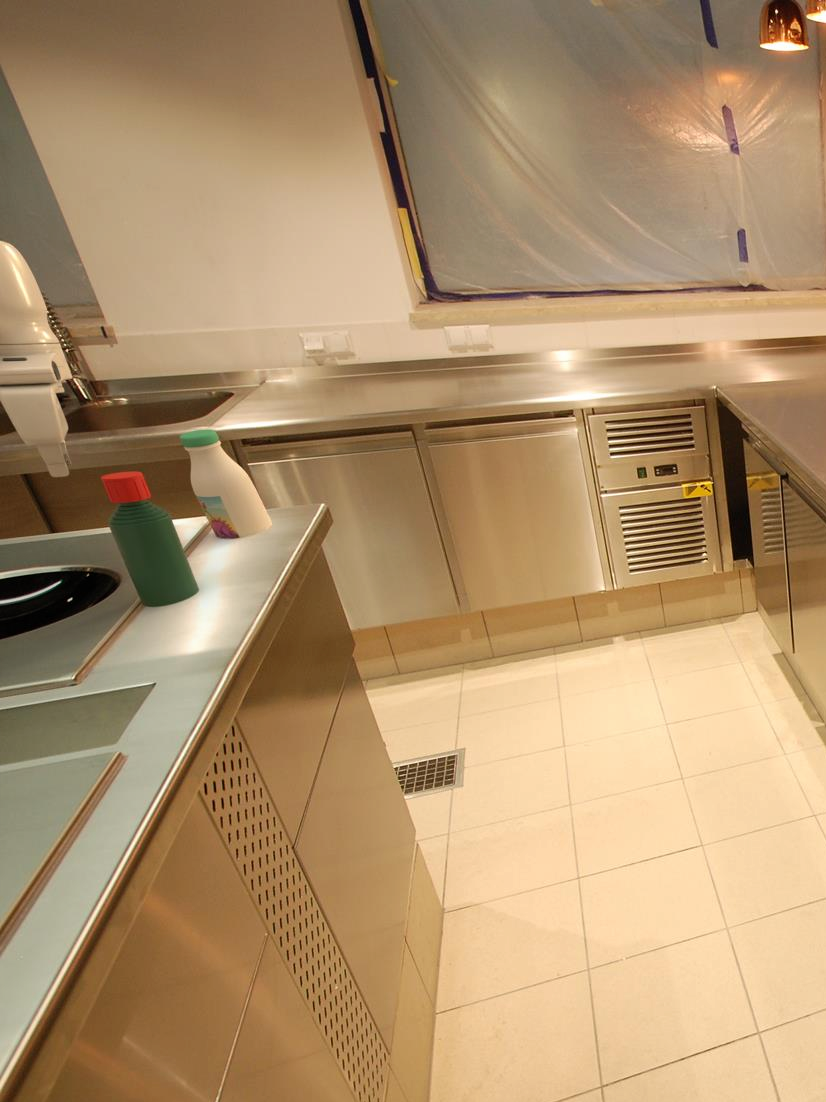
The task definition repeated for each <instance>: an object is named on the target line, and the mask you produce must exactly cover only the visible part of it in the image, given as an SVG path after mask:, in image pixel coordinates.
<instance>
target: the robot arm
mask: <svg viewBox="0 0 826 1102" xmlns="http://www.w3.org/2000/svg"><path fill="white" fill-rule="evenodd" d="M72 379H73V375H72V372H71V369H70V367H69V365H68V362H67V359H66V356H65V354H64V351H63V348H62V345H61V343H60V340H59V339H58V337H57V336H56V335H55V333H54V332H53V330H52V328H51V327H50V324H49V320H48V307H47V305H46V302H45V299H44V297H43V295H42V291H41V290H40V287H39V285H38V283H37V280H36V278H35V276H34V274H33V272H32V270H31V267H30V266H29V265H28V262H27V261H26V259H25V258H24V256H23V255H22V254H21V252H20V251H19V250H18V249H17V248H16V246H13V244H11V243H9V242H8V241H5V240H3V239H1V238H0V403H1V405H2V406H3V409H4V410H5V412H6V414H7V416H8V418H9V419H10V422H11V424H12V425H13V427H14V428H15V430H16V433H18V435H19V437H20V438H21V440H22V441H23V443H24V444H26V445H27V446H36V448H37V451H38V453H39V455H40V457H41V458H42V460H43V462H44V464H45V465H46V468H47V470H48V473H49V475H50V476H51V477H52V478H63V477H68V476H69V475H70V470H69V468H71V467H72V461H71V459H70V456H69V453H68V448H67V445H66V444H67V443H66V441H65V439H66V436H67V433H68V431H69V425H68V422H67V418H66V417H65V413H64V411H63V409H62V407H61V403H60V401H59V398H58V396H57V394H62V393H65V388H64V386H63V384H62V381H66V380H67V381H68V380H72Z"/></svg>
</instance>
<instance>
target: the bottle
mask: <svg viewBox="0 0 826 1102" xmlns="http://www.w3.org/2000/svg"><path fill="white" fill-rule="evenodd" d="M107 520H108V521H107V525H108V527H109V529H110V532H111V534H112V537H113V538H114V542H115V544H116V546H117V548H118V550H119V553H120V556H121V557H122V560H123V562H124V565H125V567H126V569H127V570H126V571H127V572H128V574H129V577H130V579H131V581H132V584H133V587H134V588H135V591H136V593H137V596H138V598H139V600H140V602H141V605H142V606H143V607H145V608H146V607H147V608H158V607H166V606H170V605H175V604H178V603H180V602H184V601H186V600H188V599H190V598H192V597H194V596H196V595H197V594H198V593H199V591H200V588H199V586H198V583H197V580H196V577H195V575H194V573H193V570H192V568H191V565H190V562H189V559H188V557H187V554H186V553H185V549H184V547H183V545H182V541H181V540H180V537H179V535H178V532H177V529H176V527H175V524H174V522H173V519H172V516H171V514H170V513H169V512H167V510H166V509H165V508H162V507H161V506H158V505H157V504H155V503H152V502H151V501H150V500H147V499H145V500H141V501H136V502H128V503H117V505H116V506H115V508H114V509H113V511H112V513H111V514H110V516H109V517H108V518H107Z"/></svg>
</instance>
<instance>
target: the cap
mask: <svg viewBox="0 0 826 1102" xmlns="http://www.w3.org/2000/svg"><path fill="white" fill-rule="evenodd" d="M100 479H101V481H102V482H101V483H102V486H103V487H104V490H105V493H106V495H107V497H108V500H109V501H110V502H111V503H115V504H118V503H128V502H136V501H141V500H145V499H146V500H147V499H150V498H151V497H152V493H151V491H150V488H149V486H148V483H147V480H146V478H145V476H144V475H143V473H142V472H141V471H120V472H119V471H118V472H113V473H108V474H104V475H102V476H100Z"/></svg>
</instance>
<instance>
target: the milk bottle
mask: <svg viewBox="0 0 826 1102" xmlns="http://www.w3.org/2000/svg"><path fill="white" fill-rule="evenodd" d="M179 440H180V442H181V444H182V446H183V447H184V450H185V451H187V452H188V454H189V457H190V484H191V487H192V490H193V493H194V495H195V497H196V500H197V502H198V503H199V505H200V507H201V509H202V512H203V514H204V515H205V518H206V519H207V521H208V524H209V526H210V527H211V529H212V531H213V533H214V535H215V537H216V538H218V539H220V540H221V539H222V540H234V539H241V538H247V537H250V536H254V535H257V534H261V533H262V532H265V531H267V530H269V529H270V528H271V527H272V526H273V522H272V519H271V517H270V516H269V514H268V511H267V509H266V507H265V504H264V503H263V500H262V499H261V497H260V494H259V493H258V490H257V489H256V487H255V485H254V483H253V481H252V479H251V477H250V476H249V474H248V473H247V472H246V470H244V468H242V467H241V465H239V464H238V463H237V462H236V461H235V460H234V459H233V458H231V456H229V455H228V454H227V453H226V452H225V450H224V449H223V448H222V446H221V444H222V442H221V441H220V438H219V435H218V433H217V431H216V430H214V429H198V430H197V429H196V430H191V431H187V432H184V433H183V434H181V435H179Z"/></svg>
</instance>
